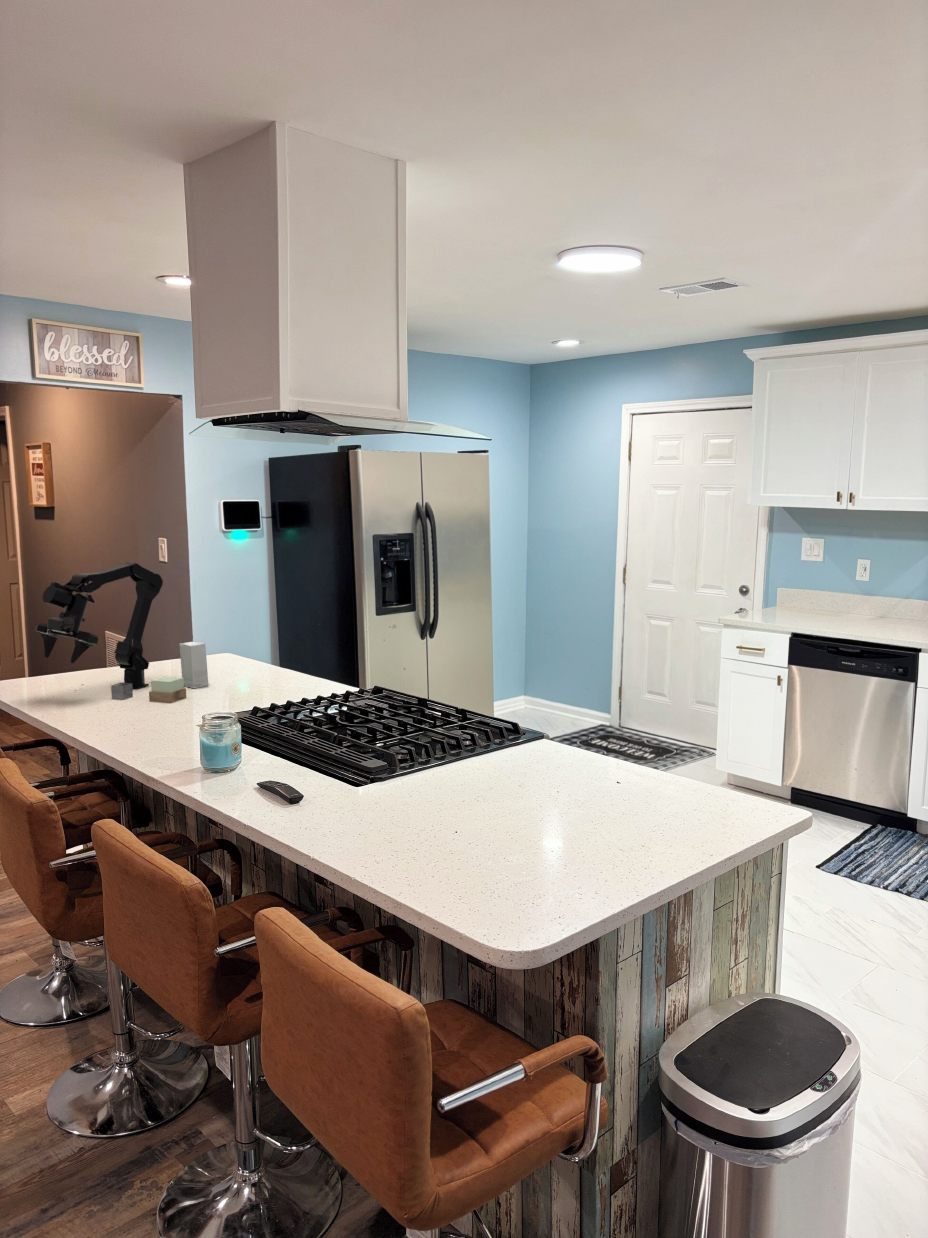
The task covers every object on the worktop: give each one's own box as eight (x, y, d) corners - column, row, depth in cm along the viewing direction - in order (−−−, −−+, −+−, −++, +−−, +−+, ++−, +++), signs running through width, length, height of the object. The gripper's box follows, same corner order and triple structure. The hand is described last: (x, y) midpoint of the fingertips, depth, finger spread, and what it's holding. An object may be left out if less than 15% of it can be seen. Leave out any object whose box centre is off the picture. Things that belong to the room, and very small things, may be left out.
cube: (121, 696, 290) (120, 682, 289) (132, 697, 289) (132, 683, 288) (111, 699, 286) (111, 685, 285) (123, 700, 284) (122, 686, 284)
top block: (165, 687, 289) (165, 676, 289) (184, 688, 287) (183, 677, 287) (151, 691, 283) (151, 680, 282) (170, 693, 281) (169, 682, 280)
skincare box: (208, 686, 304) (207, 643, 302) (192, 689, 300) (190, 645, 298) (197, 682, 310) (195, 640, 308) (180, 685, 306) (178, 642, 304)
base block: (165, 697, 290) (164, 686, 290) (186, 699, 288) (186, 688, 287) (149, 702, 283) (148, 691, 282) (170, 704, 280) (170, 693, 280)
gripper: (32, 600, 276) (16, 649, 273) (85, 611, 272) (69, 660, 269) (54, 609, 287) (39, 657, 284) (105, 619, 283) (90, 667, 280)
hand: (58, 660), depth 279 cm, fingers open, 9 cm apart
